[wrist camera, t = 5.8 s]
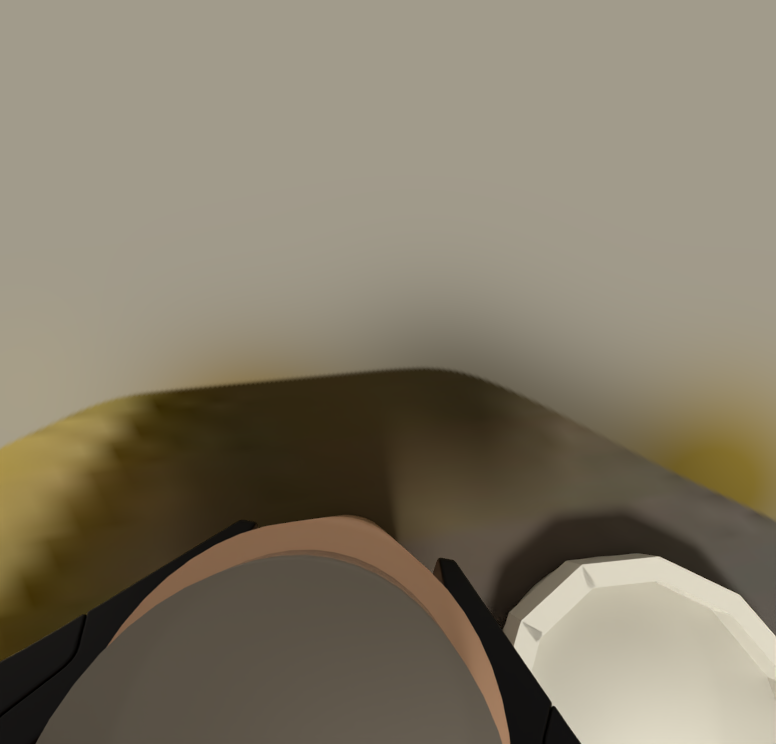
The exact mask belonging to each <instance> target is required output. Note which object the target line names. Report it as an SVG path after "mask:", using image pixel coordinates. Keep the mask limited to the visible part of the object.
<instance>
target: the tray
mask: <svg viewBox="0 0 776 744" xmlns="http://www.w3.org/2000/svg"><path fill="white" fill-rule="evenodd" d="M503 632H504V633H505V635H506V636H507V638H508V639H509V640H510V642H511V643H512V645H513V646H514V648H515V649H516V651H517V652H518V654H519V655H520V657H521V658H522V659H523V661H524V662H525V664H526V665H527V667H528V668H529V670H530V671H531V673H532V674H533V675H534V677H535V678H536V680H537V681H538V683H539V684H540V686H541V687H542V689H543V690H544V692H545V693H546V694H547V696H548V697H549V699H550V700H551V702H552V706H555V707H556V708H557V710H558V711H559V712H560V714H561V715H562V717H563V718H564V720H565V721H566V723H567V724H568V726H569V727H570V728H571V730H572V731H573V733H574V734H575V735H576V737H577V738H578V740H579V741H580V742H581V744H776V636H775V635H774V634H773V633H772V632H771V630H770V629H769V628H768V627H767V626H766V625H765V624H764V622H763V621H762V620H761V619H760V618H759V617H758V615H757V614H756V613H755V612H754V611H753V610H752V609H751V607H750V606H749V605H748V604H747V603H746V602H745V600H744V599H743V598H742V597H741V596H740V595H739V594H737V593H735V592H732V591H730V590H728V589H726V588H724V587H722V586H720V585H718V584H716V583H714V582H712V581H709V580H707V579H705V578H703V577H701V576H699V575H697V574H695V573H693V572H691V571H689V570H686V569H684V568H682V567H680V566H678V565H676V564H674V563H672V562H670V561H668V560H666V559H663V558H661V557H659V556H653V555H646V554H640V553H635V554H625V555H616V556H596V557H591V558H585V559H577V560H568V561H565V562H564V563H563V564H562V565H561V566H560V567H558V568H557V569H556V570H555V571H553V572H551V573H549V574H548V575H547V576H545V577H544V578H543V579H541V580H540V581H539V582H538V583H536V584H535V585H534V586H533V587H532V588H531V589H530V590H529V591H528V592H527V593H526V594H525V596H524V597H523V598H522V599H521V600H520V602H519V603H518V604H517V606H515V607H514V608H513V609H512V610H511V611H510V612H509V614H508V617H507V620H506V624H505V626H504V628H503ZM552 706H551V707H552Z"/></svg>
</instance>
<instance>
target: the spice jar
mask: <svg viewBox="0 0 776 744" xmlns="http://www.w3.org/2000/svg"><path fill="white" fill-rule="evenodd" d="M36 744H510V737H509V730H508V726H507V721H506V716H505V711H504V706H503V701H502V697H501V694H500V691H499V688H498V685H497V681H496V678H495V675H494V672H493V669H492V666H491V664H490V661H489V659H488V657H487V655H486V652H485V650H484V648H483V645H482V643H481V641H480V639H479V637H478V635H477V633H476V632H475V630H474V628H473V626H472V625H471V623H470V621H469V619H468V618H467V616H466V614H465V613H464V611H463V610H462V608H461V607H460V606H459V604H458V603H457V602H456V600H455V599H454V598H453V596H452V595H451V594H450V592H449V591H448V590H447V589H446V588H445V587H444V585H443V584H442V583H441V582H440V581H439V580H438V579H437V578H436V577H435V576H434V575H433V574H432V573H431V572H430V571H429V570H428V569H427V568H426V567H425V566H424V565H422V564H421V563H420V562H419V561H418V560H417V559H416V558H415V557H413V556H412V555H411V554H410V553H409V552H408V551H407V550H406V549H405V548H403V547H402V546H401V545H400V544H399V543H398V542H397V541H396V540H394V539H393V538H392V537H391V536H390V535H389V534H388V533H387V532H385V531H384V530H383V529H382V528H381V527H380V526H378V525H377V524H376V523H374V522H372V521H371V520H369V519H366V518H364V517H361V516H357V515H338V516H331V517H324V518H317V519H310V520H303V521H295V522H289V523H282V524H276V525H270V526H265V527H261V528H258V529H255V530H251V531H248V532H244V533H241V534H239V535H236V536H234V537H232V538H230V539H227V540H225V541H223V542H221V543H218V544H216V545H214V546H213V547H211V548H209V549H208V550H206V551H204V552H202V553H201V554H199V555H197V556H196V557H194V558H192V559H191V560H189V561H188V562H187V563H185V564H184V565H183V566H182V567H180V568H179V569H178V570H176V571H175V572H174V573H172V574H171V575H170V576H168V577H167V578H166V579H165V580H164V581H163V582H162V583H161V584H160V585H159V586H158V587H156V588H155V589H154V590H153V591H152V592H151V593H150V594H149V595H148V596H147V597H146V598H145V599H144V600H143V601H142V602H141V603H140V605H139V606H138V607H137V608H136V609H135V610H134V612H133V613H132V614H131V615H130V616H129V617H128V619H127V620H126V621H125V622H124V623H123V624H122V626H121V627H120V629H119V630H118V631H117V633H116V634H115V636H114V637H113V639H112V640H111V642H110V643H109V644H108V646H107V647H106V648H105V649H104V650H103V651H102V652H101V653H100V654H99V655H98V657H97V658H96V659H95V660H94V661H93V663H92V664H91V665H90V666H89V667H88V668H87V670H86V671H85V672H84V673H83V674H82V675H81V677H80V678H79V679H78V680H77V681H76V682H75V684H74V685H73V686H72V688H71V689H70V691H69V692H68V694H67V695H66V696H65V698H64V699H63V701H62V702H61V704H60V705H59V706H58V708H57V709H56V711H55V712H54V714H53V715H52V716H51V718H50V719H49V721H48V723H47V725H46V726H45V728H44V730H43V732H42V733H41V735H40V737H39V739H38V740H37V742H36Z"/></svg>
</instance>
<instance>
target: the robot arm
mask: <svg viewBox="0 0 776 744" xmlns="http://www.w3.org/2000/svg"><path fill="white" fill-rule="evenodd" d="M255 529H258V526H257V523H256V522H252V521H247V520H240V521H238V522H236V523H234V524H233V525H231V526H229V527H228V528H226V529H224V530H223V531H221V532H220V533H218V534H216V535H215V536H213V537H211V538H210V539H208V540H206V541H205V542H203V543H201V544H200V545H198V546H196V547H195V548H193V549H191V550H190V551H188V552H186V553H185V554H183V555H181V556H180V557H178V558H176V559H175V560H173V561H171V562H170V563H168V564H166V565H165V566H163V567H161V568H160V569H158V570H156V571H155V572H153V573H151V574H150V575H148V576H146V577H145V578H143V579H141V580H140V581H138V582H136V583H135V584H133V585H131V586H130V587H128V588H127V589H125V590H123V591H122V592H120V593H118V594H117V595H115V596H113V597H112V598H110V599H108V600H107V601H105V602H103V603H102V604H100V605H98V606H97V607H95V608H93V609H92V610H90V611H88V613H87V615H85V614H82V615H81V616H79V617H77V618H76V619H74V620H72V621H71V622H69V623H67V624H66V625H64V626H62V627H61V628H59V629H57V630H55V631H54V632H52V633H50V634H48V635H47V636H45V637H43V638H42V639H40V640H38V641H36V642H35V643H33V644H31V645H29V646H28V647H26V648H24V649H22V650H21V651H19V652H17V653H15V654H13V655H11V656H9V657H8V658H6V659H4V660H2V661H0V744H36V742H37V740H38V739H39V737H40V735H41V733H42V732H43V730H44V728H45V726H46V725H47V723H48V721H49V719H50V718H51V716H52V715H53V714H54V712H55V711H56V709H57V708H58V706H59V705H60V704H61V702H62V701H63V699H64V698H65V696H66V695H67V694H68V692H69V691H70V689H71V688H72V686H73V685H74V684H75V682H76V681H77V680H78V679H79V678H80V677H81V675H82V674H83V673H84V672H85V671H86V670H87V668H88V667H89V666H90V665H91V664H92V663H93V661H94V660H95V659H96V658H97V657H98V655H99V654H100V653H101V652H102V651H103V650H104V649H105V648H106V647H107V646H108V644H109V643H110V642H111V640H112V639H113V637H114V636H115V634H116V633H117V631H118V630H119V629H120V627H121V626H122V624H123V623H124V622H125V621H126V620H127V619H128V617H129V616H130V615H131V614H132V613H133V612H134V610H135V609H136V608H137V607H138V606H139V605H140V603H141V602H142V601H143V600H144V599H145V598H146V597H147V596H148V595H149V594H150V593H151V592H152V591H153V590H154V589H155V588H156V587H158V586H159V585H160V584H161V583H162V582H163V581H164V580H165V579H166V578H167V577H168V576H170V575H171V574H172V573H174V572H175V571H176V570H178V569H179V568H180V567H182V566H183V565H184V564H185V563H187V562H188V561H189V560H191V559H192V558H194V557H196V556H197V555H199V554H201V553H202V552H204V551H206V550H208V549H209V548H211V547H213V546H214V545H216V544H218V543H221V542H223V541H225V540H227V539H230V538H232V537H234V536H236V535H239V534H241V533H244V532H248V531H251V530H255ZM433 575H434V576H435V577H436V578H437V579H438V580H439V581H440V582H441V583H442V584H443V585H444V587H445V588H446V589H447V590H448V591H449V592H450V594H451V595H452V596H453V598H454V599H455V600H456V602H457V603H458V604H459V606H460V607H461V608H462V610H463V611H464V613H465V614H466V616H467V618H468V619H469V621H470V623H471V625H472V626H473V628H474V630H475V632H476V633H477V635H478V637H479V639H480V641H481V643H482V645H483V648H484V650H485V652H486V655H487V657H488V659H489V661H490V664H491V666H492V669H493V672H494V675H495V678H496V681H497V685H498V688H499V691H500V694H501V697H502V701H503V706H504V711H505V716H506V721H507V726H508V730H509V737H510V744H581V742H580V741H579V740H578V738H577V737H576V735H575V734H574V733H573V731H572V730H571V728H570V727H569V726H568V724H567V723H566V721H565V720H564V718H563V717H562V715H561V714H560V712H559V711H558V710H557V708H556V707H555V706H552V702H551V700H550V699H549V697H548V696H547V694H546V693H545V692H544V690H543V689H542V687H541V686H540V684H539V683H538V681H537V680H536V678H535V677H534V675H533V674H532V673H531V671H530V670H529V668H528V667H527V665H526V664H525V662H524V661H523V659H522V658H521V657H520V655H519V654H518V652H517V651H516V649H515V648H514V646H513V645H512V643H511V642H510V640H509V639H508V638H507V636H506V635H505V633H504V632H503V630H502V629H501V627H500V626H499V624H498V623H497V621H496V620H495V619H494V617H493V616H492V614H491V613H490V611H489V610H488V608H487V607H486V605H485V604H484V603H483V601H482V600H481V598H480V597H479V595H478V594H477V592H476V591H475V589H474V588H473V586H472V585H471V584H470V582H469V581H468V579H467V578H466V576H465V575H464V573H463V572H462V570H461V569H460V567H459V566H458V565H457V563H456V562H455V561H454V560H450V559H445V558H439V559H438V560H437V562H436V565H435V569H434V572H433ZM551 706H552V707H551Z"/></svg>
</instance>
